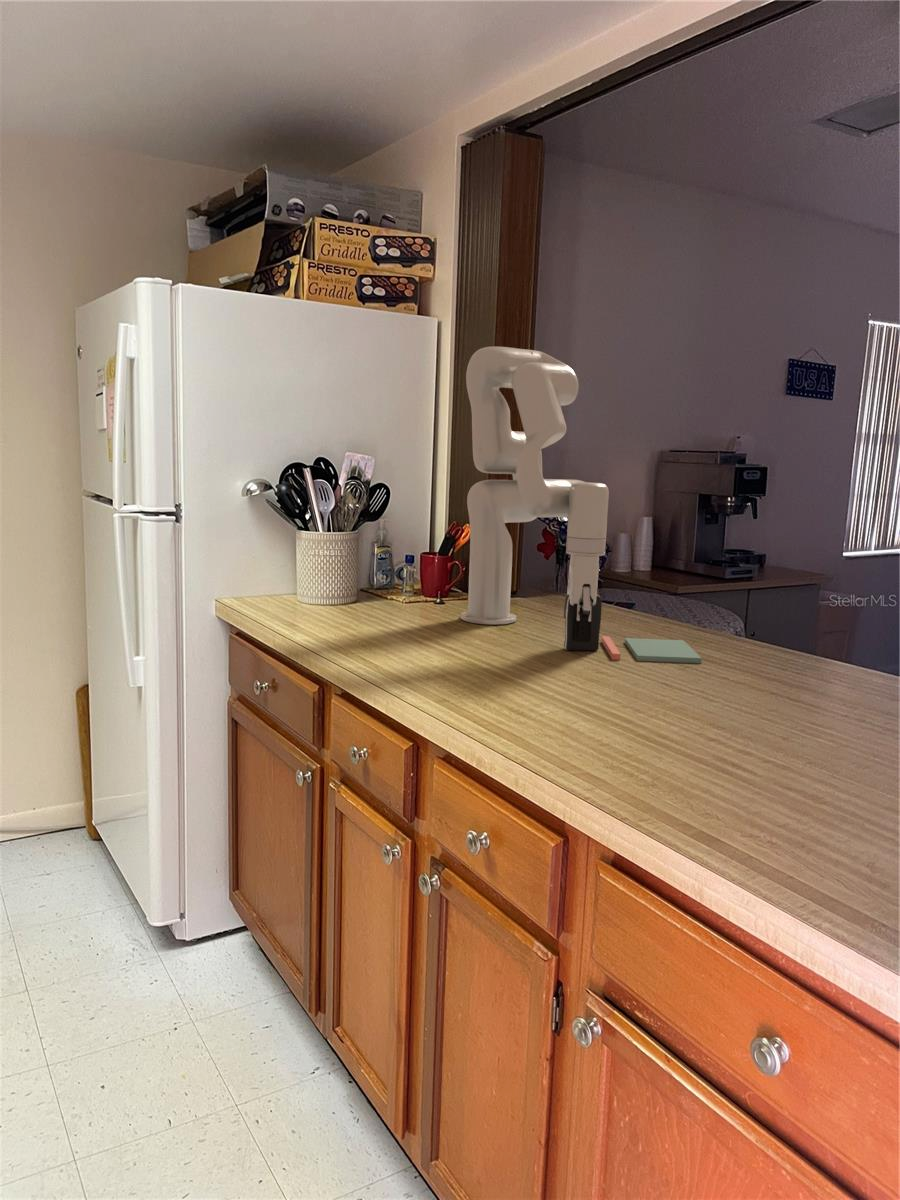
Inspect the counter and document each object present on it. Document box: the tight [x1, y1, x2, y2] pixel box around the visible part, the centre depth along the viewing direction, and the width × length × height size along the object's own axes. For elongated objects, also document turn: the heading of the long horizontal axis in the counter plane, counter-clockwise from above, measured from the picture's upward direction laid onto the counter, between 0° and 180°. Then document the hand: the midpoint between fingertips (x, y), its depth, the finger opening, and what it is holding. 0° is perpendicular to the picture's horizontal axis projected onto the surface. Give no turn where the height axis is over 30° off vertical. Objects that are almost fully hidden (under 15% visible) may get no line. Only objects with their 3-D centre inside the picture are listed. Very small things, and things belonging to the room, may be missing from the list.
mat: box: [624, 637, 703, 664], centre depth 181 cm, size 16×12×1 cm
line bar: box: [601, 635, 621, 661], centre depth 181 cm, size 16×2×1 cm, turn 178°
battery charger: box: [563, 592, 603, 652], centre depth 181 cm, size 7×4×11 cm, turn 101°
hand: (580, 637), depth 181 cm, fingers closed on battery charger, 4 cm apart
